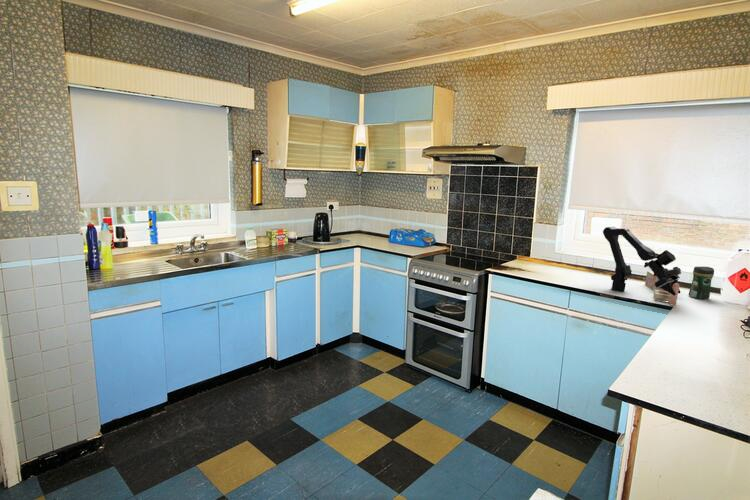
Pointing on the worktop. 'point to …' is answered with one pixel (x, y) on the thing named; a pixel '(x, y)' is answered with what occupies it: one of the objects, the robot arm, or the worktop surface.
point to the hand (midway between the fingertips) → (677, 294)
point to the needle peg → (674, 297)
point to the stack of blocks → (652, 281)
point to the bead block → (662, 295)
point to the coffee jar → (701, 282)
